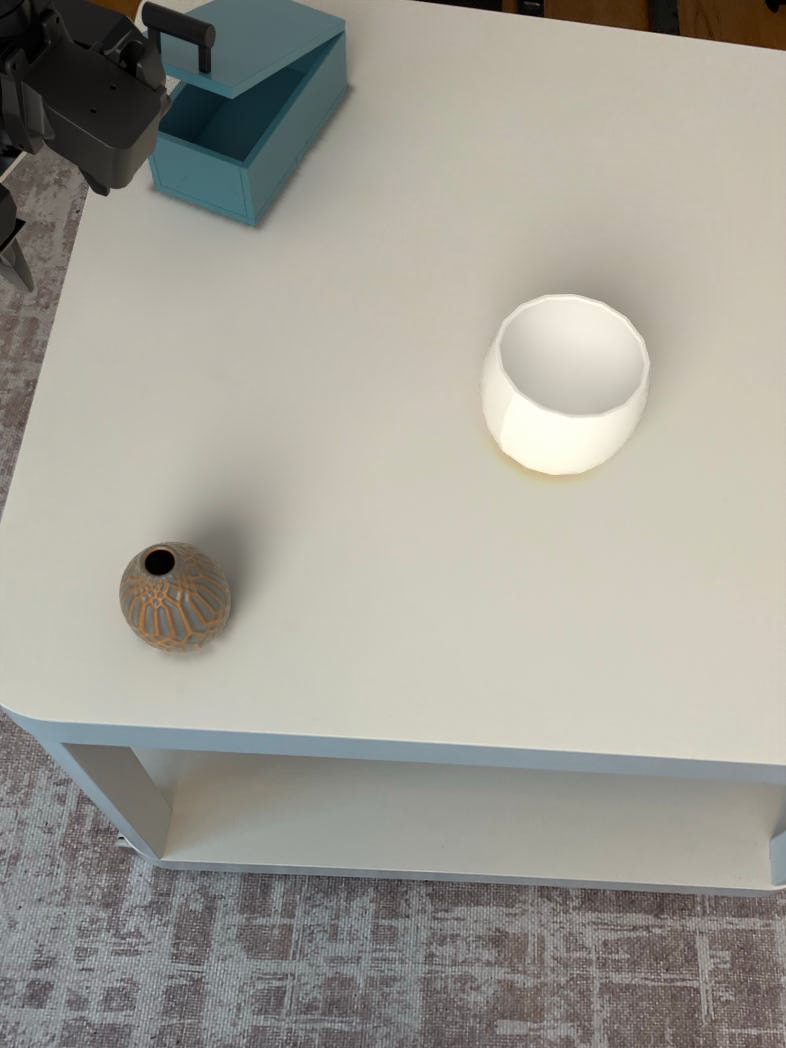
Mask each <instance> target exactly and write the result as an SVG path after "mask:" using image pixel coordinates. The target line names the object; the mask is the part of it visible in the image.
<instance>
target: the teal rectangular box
mask: <svg viewBox="0 0 786 1048" xmlns="http://www.w3.org/2000/svg"><path fill="white" fill-rule="evenodd" d="M346 34H347V33H346V29H345V30H344V31H342V32H340V33H339V34H337V35H336V36H334V37H332V38H331V39H329V40H327V41H326V42H324V43H323V44H321V45H319V46H318V47H316V48H314V49H313V50H311V51H310V52H308V53H306V54H305V55H303V56H301V57H300V58H298V59H296V60H295V61H293V62H292V63H290V64H288V65H287V66H285V67H283V68H282V69H280V70H279V71H277V72H275V73H274V74H272V75H270V76H269V77H267V78H266V79H264V80H262V81H261V82H259V83H257V84H256V85H254V86H253V87H251V88H249V89H248V90H246V91H244V92H243V93H241V94H239V95H238V96H236V97H235V98H233V99H231V98H228V97H225V96H222V95H220V94H217V93H214V92H211V91H209V90H206V89H203V88H200V87H198V86H195V85H192V84H190V83H187V82H184V81H181V80H179V82H177V84H176V85H175V87H173V89H172V90H171V92H169V94H168V95H169V97H170V98H171V100H172V106H171V107H170V109H169V110H168V111H167V113H166V114H165V115H164V116H163V118H162V119H161V120H160V121H159V127H158V134H157V140H156V147H155V150H154V152H153V153H152V155H151V156H149V157H148V158H147V161H148V165H149V166H148V167H149V169H150V173H151V178H152V181H153V186H154V189H155V190H156V191H158V192H161V193H164V194H166V195H169V196H172V197H174V198H177V199H180V200H182V201H185V202H188V203H191V204H193V205H196V206H199V207H201V208H204V209H206V210H209V211H212V212H214V213H217V214H220V215H223V216H226V217H228V218H231V219H233V220H236V221H239V222H241V223H243V224H244V223H245V224H247V225H250V226H252V227H257V226H258V224H259V223H260V221H261V219H262V218H263V216H264V215H265V213H266V212H267V210H268V209H269V208H270V206H271V204H272V203H273V202H274V200H275V199H276V197H277V195H278V194H279V193H280V191H281V190H282V189H283V187H284V185H285V184H286V182H287V181H288V179H289V178H290V176H291V175H292V173H293V172H294V171H295V169H296V168H297V166H298V164H299V163H300V161H301V160H302V158H303V157H304V155H305V154H306V153H307V151H308V150H309V148H310V147H311V146H312V144H313V142H314V140H315V139H316V137H317V136H318V134H319V133H320V132H321V131H322V129H323V127H324V126H325V125H326V123H327V122H328V120H329V118H330V117H331V116H332V114H333V112H334V111H335V109H336V108H337V107H338V105H339V103H340V102H341V100H342V99H343V98H344V96H345V95H346V93H347V91H348V76H347V75H348V73H347V72H348V71H347V38H346V36H347V35H346Z"/></svg>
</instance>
